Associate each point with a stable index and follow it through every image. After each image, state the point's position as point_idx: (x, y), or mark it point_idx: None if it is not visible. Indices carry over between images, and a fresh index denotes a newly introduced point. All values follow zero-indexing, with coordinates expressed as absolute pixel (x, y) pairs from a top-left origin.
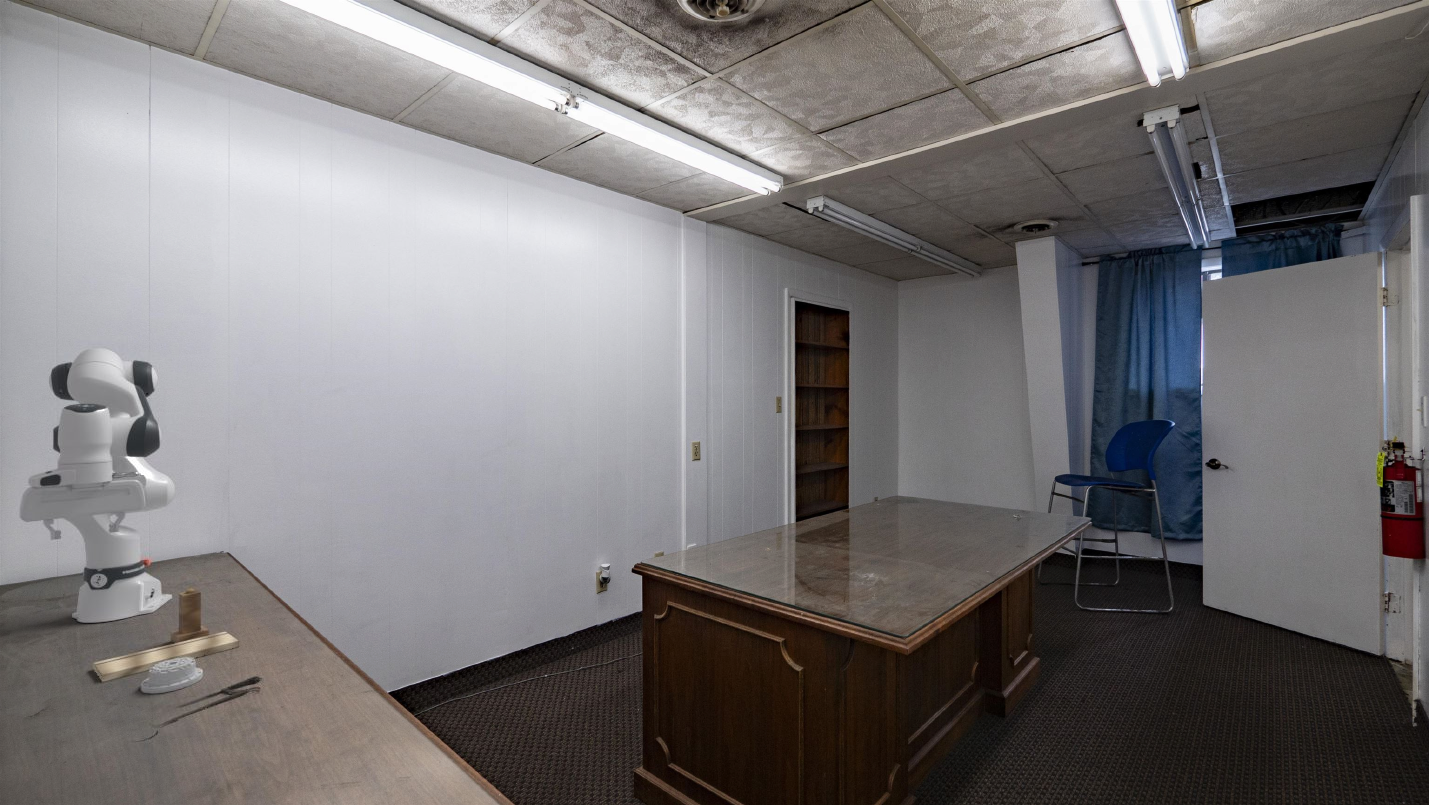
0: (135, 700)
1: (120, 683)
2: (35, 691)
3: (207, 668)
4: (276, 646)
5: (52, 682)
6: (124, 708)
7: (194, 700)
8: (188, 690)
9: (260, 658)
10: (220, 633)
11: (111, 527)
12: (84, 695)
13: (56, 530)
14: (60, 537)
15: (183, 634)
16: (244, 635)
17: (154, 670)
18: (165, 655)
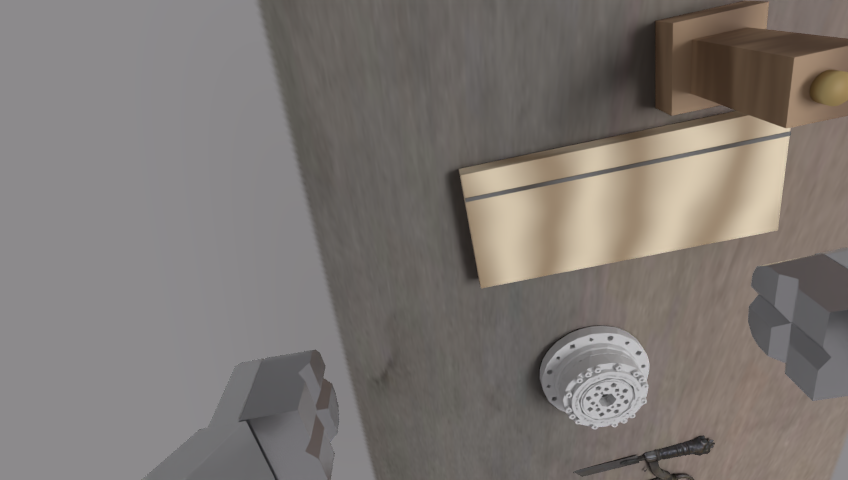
0: (526, 411)
1: (509, 310)
2: (357, 249)
3: (662, 328)
4: None
5: (381, 208)
6: (509, 434)
7: (602, 465)
8: None
9: None
10: None
11: (801, 377)
12: (449, 335)
13: (268, 425)
14: (335, 422)
15: (691, 97)
16: None
17: (571, 407)
18: (611, 235)
